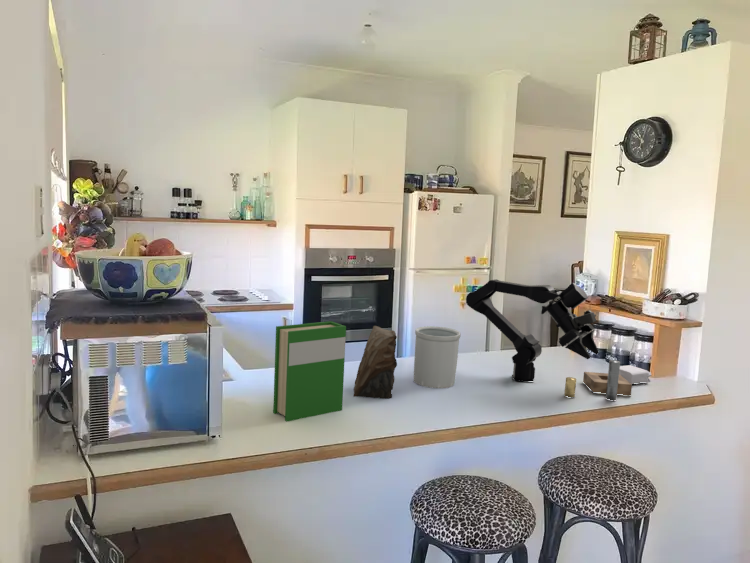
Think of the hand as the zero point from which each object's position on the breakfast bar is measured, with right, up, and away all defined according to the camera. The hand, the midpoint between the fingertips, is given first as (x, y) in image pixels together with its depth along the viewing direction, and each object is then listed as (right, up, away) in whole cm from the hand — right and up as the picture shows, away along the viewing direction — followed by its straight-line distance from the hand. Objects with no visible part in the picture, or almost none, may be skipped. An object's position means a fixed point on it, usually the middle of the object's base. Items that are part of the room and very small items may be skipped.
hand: (593, 356), depth 191 cm
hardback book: (-89, -12, -28) cm, 94 cm away
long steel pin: (+5, -14, -2) cm, 15 cm away
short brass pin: (-8, -13, -2) cm, 15 cm away
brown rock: (-72, -11, -9) cm, 73 cm away
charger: (+23, -12, +22) cm, 34 cm away
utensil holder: (-51, -10, +6) cm, 52 cm away
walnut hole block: (+7, -12, +8) cm, 17 cm away
